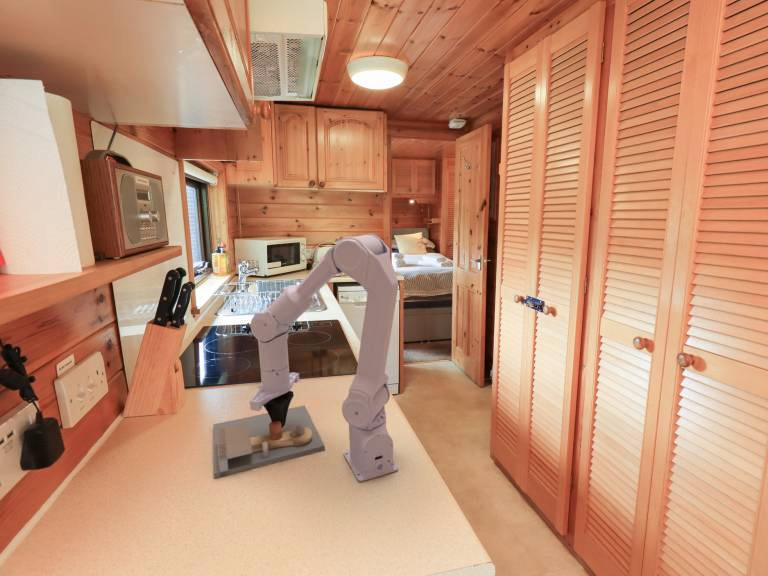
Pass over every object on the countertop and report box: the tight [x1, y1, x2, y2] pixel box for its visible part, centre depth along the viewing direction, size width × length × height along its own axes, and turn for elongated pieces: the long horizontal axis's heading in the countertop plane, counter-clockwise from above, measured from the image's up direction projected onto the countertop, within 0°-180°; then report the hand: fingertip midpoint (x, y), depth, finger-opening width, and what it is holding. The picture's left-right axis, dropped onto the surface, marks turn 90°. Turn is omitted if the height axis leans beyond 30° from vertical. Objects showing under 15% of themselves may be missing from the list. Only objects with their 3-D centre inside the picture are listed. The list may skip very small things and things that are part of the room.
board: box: [212, 405, 326, 479], centre depth 85 cm, size 19×21×4 cm
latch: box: [250, 421, 312, 452], centre depth 81 cm, size 15×5×4 cm, turn 107°
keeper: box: [217, 423, 252, 477], centre depth 79 cm, size 10×6×4 cm, turn 23°
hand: (279, 426), depth 84 cm, fingers closed
